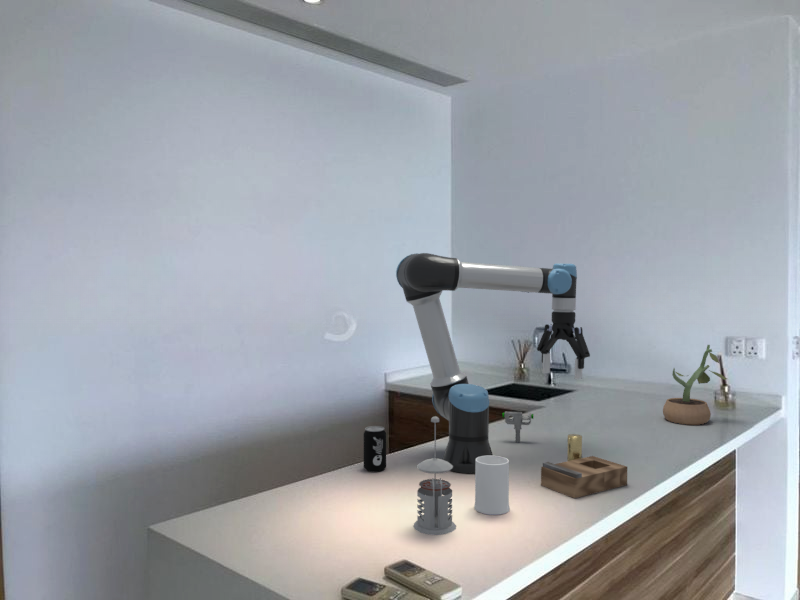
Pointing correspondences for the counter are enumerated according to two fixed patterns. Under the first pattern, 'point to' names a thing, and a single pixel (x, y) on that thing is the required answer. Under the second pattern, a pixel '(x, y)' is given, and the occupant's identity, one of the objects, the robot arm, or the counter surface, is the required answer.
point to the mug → (492, 485)
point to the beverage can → (374, 448)
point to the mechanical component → (517, 421)
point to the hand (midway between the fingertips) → (561, 376)
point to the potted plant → (685, 407)
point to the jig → (583, 476)
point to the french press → (434, 498)
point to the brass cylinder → (574, 447)
